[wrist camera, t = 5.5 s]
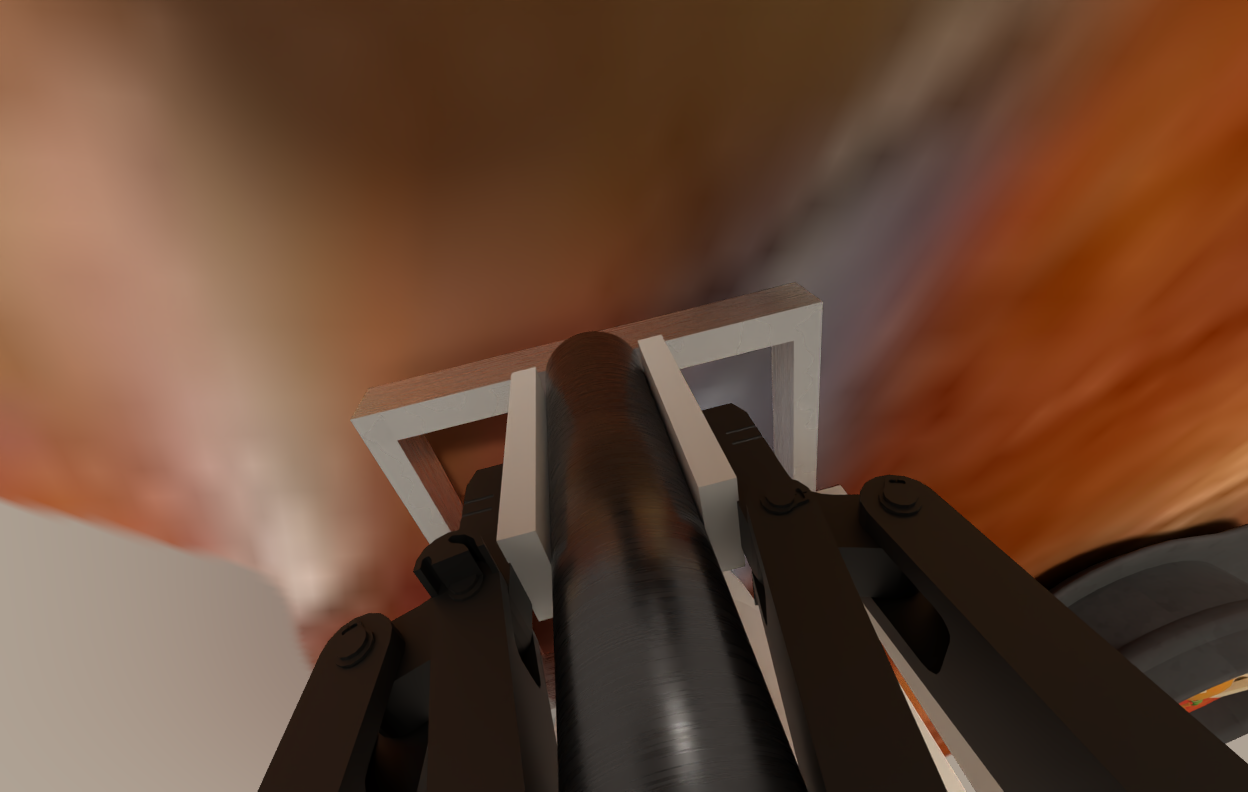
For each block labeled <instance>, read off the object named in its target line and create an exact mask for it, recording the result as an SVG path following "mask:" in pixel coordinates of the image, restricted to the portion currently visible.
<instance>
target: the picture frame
mask: <svg viewBox="0 0 1248 792" xmlns="http://www.w3.org/2000/svg"><path fill="white" fill-rule="evenodd" d="M822 311H823V301H821V300H820V299H819V298H817V297H816V296H814V295H813V294H811V293H810V292H809V291H807V290H806V289H804V288H803V287H802V286H800V285H799V284H797V283H796V282H794V283H790V284H786V285H782V286H778V287H774V288H770V289H766V290H762V291H758V292H754V293H750V294H746V295H742V296H738V297H734V298H730V299H726V300H722V301H718V302H714V303H710V304H706V305H702V306H698V307H694V308H690V309H686V310H682V311H678V312H674V313H670V314H666V315H662V316H658V317H654V318H650V319H646V320H642V321H638V322H633V323H629V324H625V325H621V326H617V327H613V328H609V329H605V330H601V331H592V332H585V333H580V334H577V335H575V336H572V337H570V338H569V339H565V340H561V341H557V342H553V343H549V344H545V345H541V346H537V347H533V348H529V349H525V350H521V351H517V352H513V353H509V354H505V355H501V356H497V357H493V358H489V359H485V360H481V361H477V362H473V363H469V364H465V365H461V366H457V367H453V368H449V369H445V370H441V371H437V372H433V373H429V374H425V375H421V376H416V377H412V378H408V379H404V380H400V381H396V382H392V383H388V384H384V385H380V386H376V387H372V388H368V390H367V392H366V394H365V395H364V397H363V399H362V400H361V402H360V404H359V406H358V407H357V409H356V411H355V412H354V414H353V416H352V418H351V419H350V420H351V422H352V423H353V425H354V427H355V428H356V430H357V431H358V433H359V434H360V436H361V438H362V439H363V441H364V442H365V444H366V445H367V447H368V448H369V450H370V452H371V453H372V455H373V456H374V458H375V459H376V461H377V463H378V464H379V466H380V467H381V469H382V470H383V472H384V473H385V475H386V477H387V478H388V480H389V481H390V483H391V484H392V486H393V488H394V489H395V491H396V492H397V494H398V495H399V497H400V498H401V500H402V502H403V503H404V505H405V506H406V508H407V509H408V511H409V512H410V514H411V516H412V517H413V519H414V520H415V522H416V523H417V525H418V527H419V528H420V530H421V531H422V533H423V534H424V536H425V537H426V539H427V541H428V542H429V544H431V543H432V542H433V541H434V540H435V539H437V538H439V537H441V536H443V535H445V534H446V533H448V532H452V531H456V530H459V527H460V521H461V518H462V510H463V504H462V503H461V501H460V499H459V497H458V495H457V493H456V492H455V490H454V488H453V486H452V484H451V482H450V480H449V479H448V477H447V475H446V473H445V471H444V469H443V468H442V466H441V464H440V462H439V460H438V458H437V457H436V455H435V453H434V451H433V449H432V447H431V446H430V444H429V442H428V440H427V438H426V436H425V435H424V434H425V433H429V432H433V431H437V430H441V429H445V428H449V427H453V426H457V425H461V424H465V423H469V422H473V421H477V420H481V419H485V418H489V417H493V416H497V415H501V414H504V413H508V407H509V396H510V384H511V373H513V372H517V371H521V370H525V369H529V368H533V367H536V369H537V372H538V375H539V377H540V380H541V383H542V386H543V389H544V392H545V394H546V411H547V442H548V474H549V505H550V537H551V568H552V600H553V631H554V652H553V653H549V654H545V655H544V653H543V651H542V650H541V648H540V652H541V658H542V664H543V669H544V675H545V680H546V686H547V692H548V697H549V703H550V708H551V714H552V719H553V718H555V716H556V726H557V757H558V789H559V792H808V790H807V787H806V784H805V782H804V779H803V777H802V774H801V772H800V769H799V767H798V764H797V762H796V759H795V756H794V754H793V751H792V749H791V746H790V744H789V741H788V739H787V736H786V734H785V731H784V728H783V726H782V723H781V721H780V718H779V716H778V713H777V711H776V708H775V705H774V703H773V700H772V698H771V695H770V693H769V690H768V688H767V685H766V683H765V680H764V677H763V675H762V672H761V670H760V667H759V665H758V662H757V660H756V657H755V654H754V652H753V649H752V647H751V644H750V642H749V639H748V637H747V634H746V632H745V629H744V626H743V624H742V621H741V619H740V616H739V614H738V611H737V609H736V606H735V603H734V601H733V598H732V596H731V593H730V591H729V588H728V586H727V583H726V581H725V578H724V575H723V573H722V570H721V568H720V565H719V563H718V560H717V558H716V555H715V553H714V550H713V547H712V545H711V542H710V540H709V537H708V535H707V532H706V530H705V527H704V525H703V522H702V519H701V517H700V514H699V512H698V509H697V507H696V504H695V502H694V499H693V496H692V494H691V491H690V489H689V486H688V484H687V481H686V479H685V476H684V474H683V471H682V468H681V466H680V463H679V461H678V458H677V456H676V453H675V451H674V448H673V445H672V443H671V440H670V438H669V435H668V433H667V430H666V428H665V425H664V423H663V420H662V417H661V415H660V412H659V410H658V407H657V405H656V402H655V400H654V397H653V394H652V392H651V389H650V387H649V384H648V382H647V379H646V377H645V374H644V371H643V366H642V361H641V356H640V351H639V347H638V342H637V341H638V340H642V339H646V338H650V337H654V336H658V335H662V337H663V339H664V341H665V343H666V345H667V346H668V348H669V350H670V352H671V354H672V356H673V358H674V360H675V362H676V364H677V365H678V367H679V369H683V368H687V367H691V366H695V365H699V364H703V363H707V362H711V361H715V360H719V359H723V358H727V357H731V356H735V355H739V354H743V353H747V352H750V351H754V350H758V349H762V348H766V347H770V346H771V366H772V402H773V438H774V454H775V456H776V457H777V459H778V460H779V462H780V463H781V465H782V466H783V468H784V469H785V471H786V472H787V474H788V475H789V476H790V477H791V479H794V480H797V481H799V482H801V483H802V484H804V485H805V486H807V487H808V488H809V489H810V490H811V491H813V492H816V469H817V442H818V416H819V390H820V364H821V337H822ZM758 607H759V606H758ZM539 647H540V646H539Z"/></svg>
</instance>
